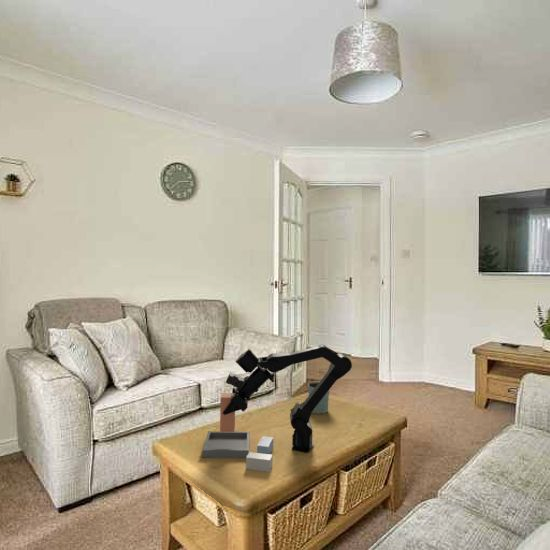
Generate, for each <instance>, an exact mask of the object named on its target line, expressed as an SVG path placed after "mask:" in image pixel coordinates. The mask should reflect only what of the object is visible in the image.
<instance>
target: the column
mask: <svg viewBox="0 0 550 550" xmlns="http://www.w3.org/2000/svg"><path fill="white" fill-rule="evenodd" d="M233 394H234V393H232V392H222V393H221V394H220V409H219V413H220V415H219V417H220V420H219V426H220V427H219V429H220V430H219V431H220V432H234V431H235V428H236V411H235V412H232V413H229V414H226V415H224V414H223V411H224V410H225V409H226V407H227V406H228V405H229V403H230V402H231V395H233Z"/></svg>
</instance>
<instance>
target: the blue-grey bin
mask: <svg viewBox="0 0 550 550" xmlns="http://www.w3.org/2000/svg"><path fill="white" fill-rule="evenodd" d="M319 382H320V381H314V382H310V383H307V391H308V396H309V395H310V394H311V392H312V391H313V390H314V389H315V387H316V386H317V385H318V383H319ZM329 397H330V390H329V391H328V392H327V393H326V394H325V396H324V397H323V398H322V399H321V401H320V402H319V403H318V405H317V406H316V407H315V408H314V410H313V411H312V412H313V413H312V414H316V413H324V414H327V413H328V412H327V411H329ZM326 412H327V413H326Z"/></svg>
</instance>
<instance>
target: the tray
mask: <svg viewBox="0 0 550 550" xmlns="http://www.w3.org/2000/svg"><path fill="white" fill-rule="evenodd" d="M250 434H251V432H250V431H240V430H238V431H235V430H234V432H220V430H219V431H212V430H211V431H210V430H209V431H207V435H206V437H205V440H204V443H203V447H202V450H201V456H202V457H208V459H209V458H215V459H217V458H219V459H221V458H222V459H225V458H226V459H227V458H228V459H229V458H231V459H232V458H233V459H236V458H238V459H239V458H241V459H246V457H247V455H248V454H249V452H250V442H251V441H250V438H251V436H250ZM202 457H201V458H202Z"/></svg>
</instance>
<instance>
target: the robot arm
mask: <svg viewBox="0 0 550 550" xmlns="http://www.w3.org/2000/svg"><path fill="white" fill-rule="evenodd" d="M321 358H323V359H325V360H326V361H327V362H329V364H330V365H329V367H328V369H327V371H326V373H325V374H324V376H323V377H322V378H321V380H320V381H318V382H319V383H318V385H317V386H316V387H315V389H314V390H313V391H312V392H311V394H310V395H309V394H308V396H307V397H306V399H305V400H304V401H302V402H301V403H299V402H298V401H297V402H295V405H294V406H293V407H292V408H291V409H290V413H289V420H290V425H291V427H292V428H293V434H292V436H291V437H292V439H291V440H292V444H291V445H292V447H291V450H293V451H298V452H302V453H303V452H304V453H309V452H310V451H311V450H312V449H313V448H314V443H313V428H312V424H311V422H310V419H311V416H312V414H313V413H312V411H313V410H314V408H315V407H316V406H317V405H318V403H319V402H320V401H321V399H322V398H323V397H324V396H325V394H326V393H327V392H328V391H329V392H330V389H331V388H332V386H334V384H335V383H337V381H338V380H339V379H342V378H343V377H344V376H345V375H347V373H349V372H350V371H351V370H352V367H353V362H352V360H351V359H350V358H349V357H348V356H347V355H346V354H344V353H338V352H336V350H333V349H331V348H329V347H327V346H326V345H325V344H319V345H316V346H313V347H309V348H305V349H300V350H297V351H292V352H275V353H270V354H268V356H261V357H257V356H256V354H255V353H254V352H253V351H252V349H250V348H249V349H247V350H246V351H244V352H243V353H241V354H240V355H239V356H238V357H237V359H236V360H235V363H236V364H237V365H238V366H239V367H240V368H241V369H242V370H243V371H244V372H245V373H251V374H249V376H248V375H247V376H245V377H242V376H240V375H238V374H236V373H234V372H232V371H230V372H229V373H228V376H227V378H226V380H225V383H226V384H227V385H230V386H233V387H232V391H231V393H234V394H233V395H231V402H230V403H229V405H228V406H227V407H226V409H225V410H224V411H223V414H224V415H226V414H229V413H232V412H235V413H236V412H238V411H242V412H244V413H245V411H246V410H247V409H248V408H249V407H248V405H249V404H248V402H249V401H250V400H251V397H252V396H253V395H254V394H255V393H258V392H259V389H260V388H261V387H262V386H264V384H266V382H267V381H268V380H270V381H271V383H274V382H275V379H274V378H275V373H278V372H280V371H283V370H285V369H286V368H288V367H289V366H292V365H295V364H300V363H304V362H307V361H312V360H317V359H321Z"/></svg>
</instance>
